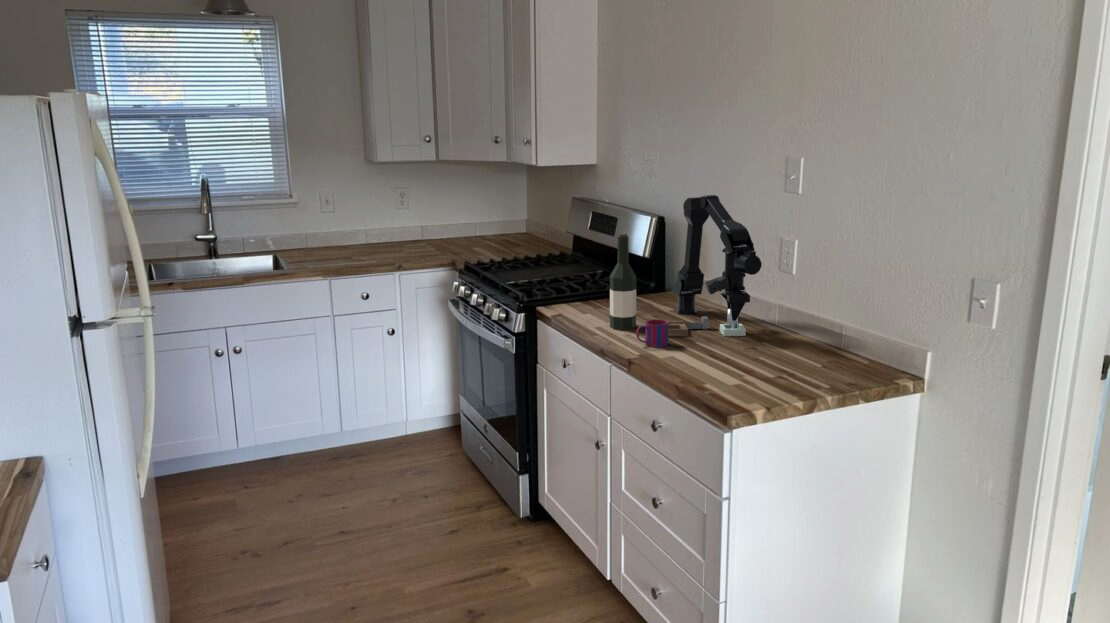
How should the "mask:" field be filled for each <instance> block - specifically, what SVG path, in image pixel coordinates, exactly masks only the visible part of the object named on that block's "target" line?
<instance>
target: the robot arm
mask: <svg viewBox="0 0 1110 623" xmlns="http://www.w3.org/2000/svg"><path fill="white" fill-rule="evenodd" d="M682 206H683V216H684V218H685V220H686V222H687V231H686V242H685V243H686V244H685V254H684V263H683V266H682V267H681V268H680V270H679V271H678V275H677V279H676V281H675V282H674V284H673V286H672V289H671V290H672V294H673V295H675V296H677V298H678V300H677V302H678V303H677V304H678V307H676V308H675V310H676V312H677V314H679V315H680V314H683V315H684V314H686V315H687V314H688V315H689V314H698V310H697V309H696V295H702V291H703V287H704V284H705V286H706V289H707V292H708V294H709V295H714V294H716V293H717V292H722V293H720V295H721V296H722V297H723V298H724V299H725V301H726V306H727V309H728V308H731V315H732V320H733V321H736V320H737V318H738V319H739V316H740V314H741V312H742V310H743V308H744V306H745V304H746V303H751V295H750V293H748V292H747V291H746V287H745V284H744V283H745V278H746V275H747V274H748V275H752V276H754V275H757V274H758V273H759V272H760V270H761V268H762V264H763V263H762V261H761V259H760V257H759V256H758V255H757V252H756V251H755V247H754V246H755V244H754V243H753V242H754V241H753V240H752V238H751V234H750V233H749V230H748V228H747V227H746V226H744V225H743V224H742V223H740V222H738V221H736V220H734V218H732V216H731V215H730V214H729V212H728V211H727V209H726V208H725V207H724V205H723V203H721V201H720V198H719V196H718V195H716V194H709V195H707V194H706V195H703V196H698V197H687V198H686V199H685V200H684V202H683V205H682ZM709 218H711V219H712V222H714V224H715V225H716V226H717V228H718V229H719V231H720V234H719V238H720V240H721V242H722V244H723V245H724V247H723V249H722V250H721V251H722V253H725V254H724V255H725V256H724V258H725V259H724V270H723V271H722V273H721V274H722V276H717V277H715V278H711V279H710V280H706V281H705V282H704V278H705V273H704V272H702V270H701V268H700V258H701V250H702V249H701V248H702V240H703V239H702V238H703V229H704V228H703V227H704V224H705V223H706V222H707V220H708V219H709Z"/></svg>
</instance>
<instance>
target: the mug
mask: <svg viewBox="0 0 1110 623" xmlns="http://www.w3.org/2000/svg"><path fill="white" fill-rule="evenodd" d="M668 321H669V320H666V319H665V320H664V319H657V318H656V319H649V320H646V321H645V324H644V325H639V326H638V327H636V328H637V329H636V331H635V332H636V334H635V335H636V338H637V340H638V341H640V342H641V343H645V345H646V346H647V347H650V348H664V347H667V346H668V345H669V336H668V329H669V322H668ZM642 328H645V332H644V333H645V340H644V339H643V340H642V338H641V337H640V329H642Z"/></svg>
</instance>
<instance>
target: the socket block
mask: <svg viewBox="0 0 1110 623" xmlns="http://www.w3.org/2000/svg"><path fill="white" fill-rule="evenodd" d="M667 321H668V322H669V329H668V337H688V336H689V329H687V327H686V325H685V324H670V323H685V322H684V320H667Z"/></svg>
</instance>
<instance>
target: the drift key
mask: <svg viewBox="0 0 1110 623" xmlns="http://www.w3.org/2000/svg"><path fill="white" fill-rule="evenodd" d="M670 324H685V325H686V327H687V329H688V330H692V329H693V330H695V329H696V330H697V329H699V330H701V329H702V330H708V329H709V317H708V316H706V315H705V316H701V322H684V323H670Z"/></svg>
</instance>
